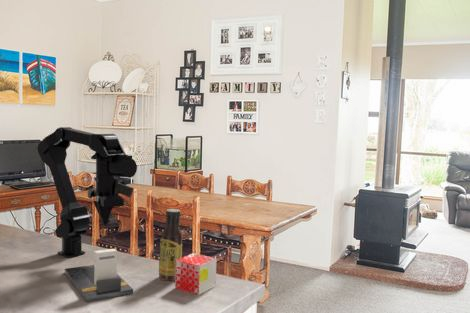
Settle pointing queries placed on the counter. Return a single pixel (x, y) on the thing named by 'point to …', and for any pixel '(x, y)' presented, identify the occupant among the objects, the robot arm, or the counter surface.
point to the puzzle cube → (195, 273)
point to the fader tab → (105, 264)
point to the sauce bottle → (170, 246)
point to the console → (102, 289)
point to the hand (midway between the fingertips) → (105, 224)
